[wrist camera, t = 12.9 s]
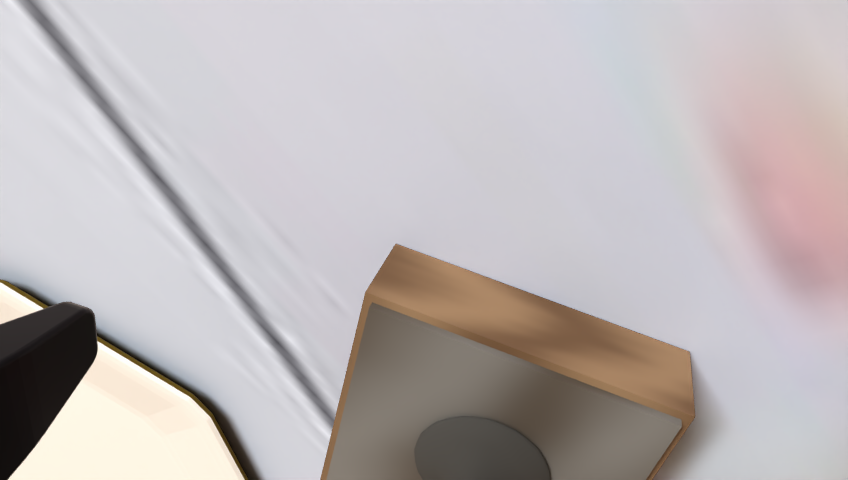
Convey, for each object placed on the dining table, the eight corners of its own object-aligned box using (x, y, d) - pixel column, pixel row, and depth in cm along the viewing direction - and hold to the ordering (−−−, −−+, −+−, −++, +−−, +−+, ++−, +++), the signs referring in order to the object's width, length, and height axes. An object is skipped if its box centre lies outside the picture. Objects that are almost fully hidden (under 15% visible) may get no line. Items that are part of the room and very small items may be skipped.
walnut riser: (689, 351, 23) (696, 423, 20) (577, 530, 29) (569, 605, 27) (395, 243, 25) (362, 297, 22) (345, 437, 31) (314, 499, 28)
